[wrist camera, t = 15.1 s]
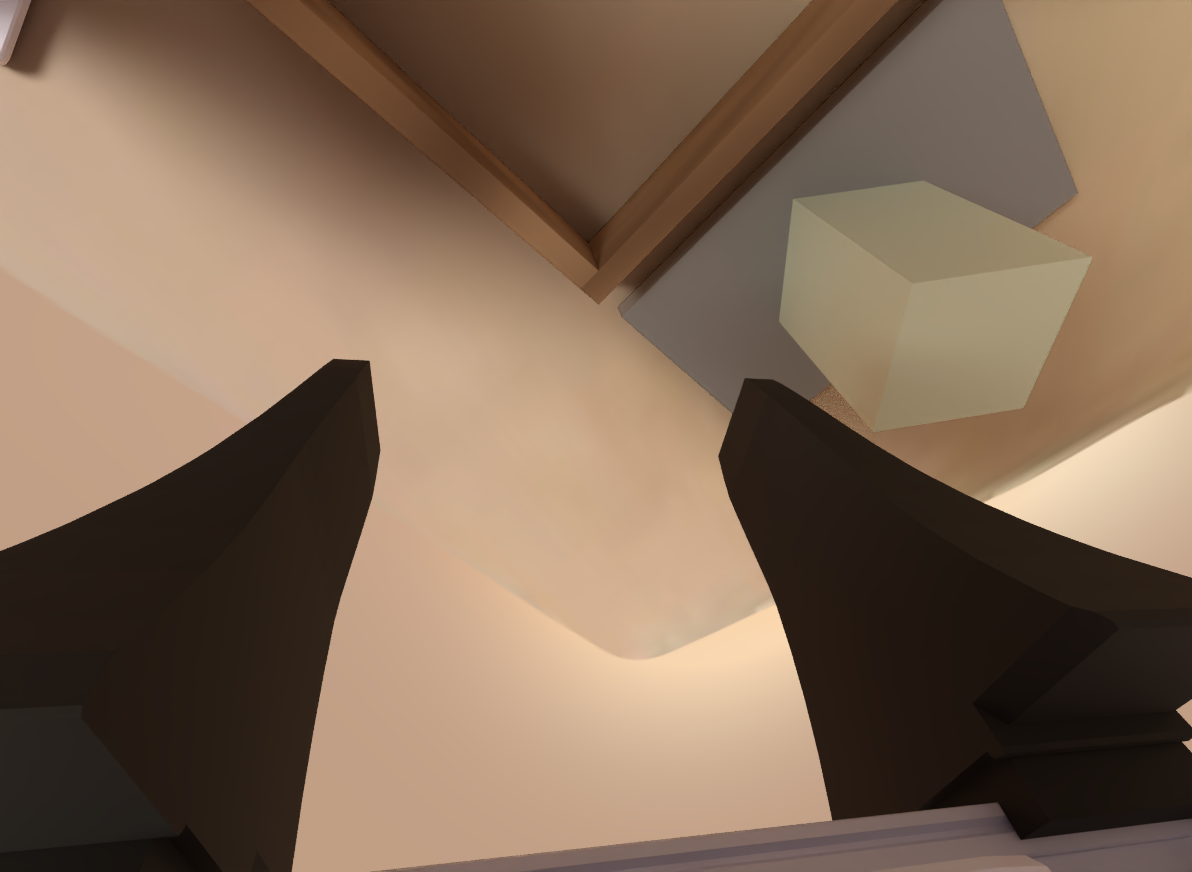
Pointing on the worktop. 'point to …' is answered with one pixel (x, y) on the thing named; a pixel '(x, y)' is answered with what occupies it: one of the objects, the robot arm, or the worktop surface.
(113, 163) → the worktop surface
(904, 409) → the olive beige rectangular block
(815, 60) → the walnut tray
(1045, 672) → the robot arm
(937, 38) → the slate board
